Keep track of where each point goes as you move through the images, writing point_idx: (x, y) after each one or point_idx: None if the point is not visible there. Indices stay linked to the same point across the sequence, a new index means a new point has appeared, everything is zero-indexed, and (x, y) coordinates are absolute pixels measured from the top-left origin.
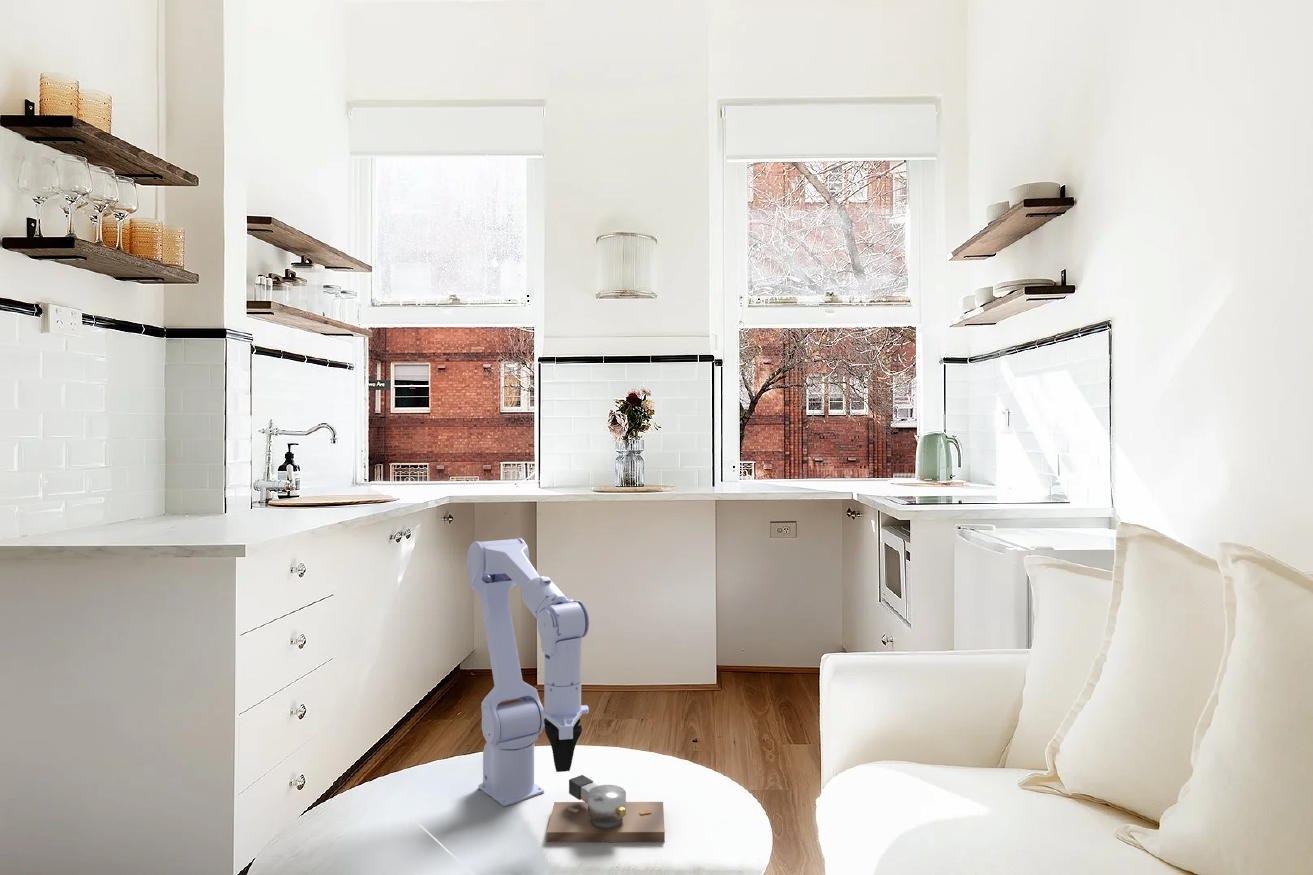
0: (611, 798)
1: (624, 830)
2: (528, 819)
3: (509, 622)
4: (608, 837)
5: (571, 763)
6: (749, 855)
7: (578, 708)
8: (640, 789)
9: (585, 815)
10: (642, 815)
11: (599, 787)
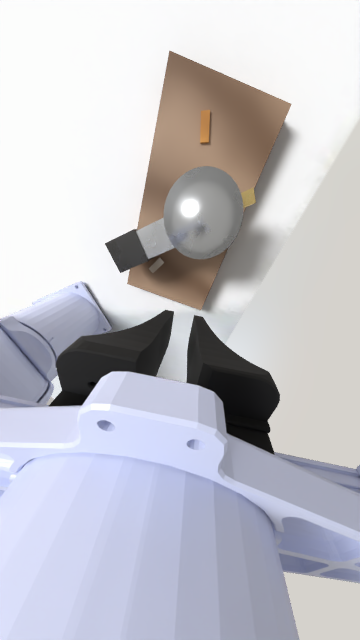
0: (227, 214)
1: None
2: (142, 311)
3: None
4: None
5: (204, 320)
6: None
7: (256, 552)
8: (74, 98)
9: (175, 250)
10: (209, 138)
11: (171, 226)
